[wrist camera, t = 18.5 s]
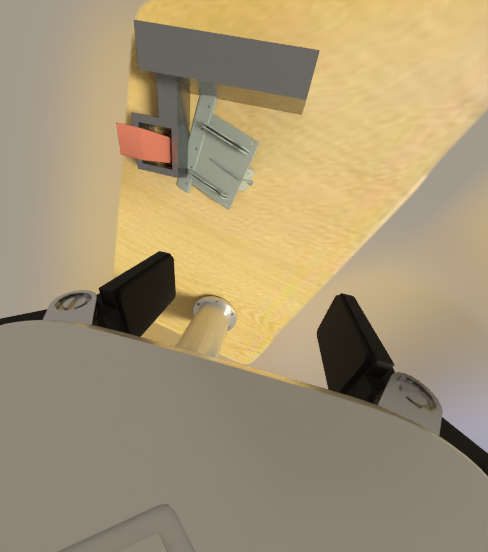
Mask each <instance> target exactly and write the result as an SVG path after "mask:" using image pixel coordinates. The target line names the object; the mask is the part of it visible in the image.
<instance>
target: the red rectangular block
mask: <svg viewBox="0 0 488 552" xmlns="http://www.w3.org/2000/svg"><path fill="white" fill-rule="evenodd" d="M116 124H117V131H118V138H119V145H120V151H121V155H124V156H129V157H133V158H137V159H141V160H146V161H156V162H165V163H172V138H170V137H166V136H163V135H160V134H157V133H154V132H151V131H148V130H145V129H142V128H138V127H134V126H130V125H125V124H121V123H116Z"/></svg>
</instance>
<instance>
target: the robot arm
mask: <svg viewBox="0 0 488 552" xmlns="http://www.w3.org/2000/svg"><path fill="white" fill-rule="evenodd" d="M99 291H100V293H99V294H98V295H96V294H95V293H94V292H91V291H84V290H83V291H74V292H70V293H67V294H64V295H62V296H60V297H58V298H56V299H55V300H53V301H52V302H51V304H50V305H49V307H48V309H47V310H42V311H37V312H32V313H27V314H22V315H17V316H12V317H6V318H2V319H0V552H488V453H486V452H485V451H484V450H483V449H481V448H480V447H479V446H478V445H476V444H475V443H474V442H473V441H471V440H470V439H469V438H468V437H466V436H465V435H464V434H463V433H461V432H460V431H459V430H458V429H456V428H455V427H454V426H453V425H451V424H450V423H449V422H448V421H446V420H445V419H444V418H443V417H442V407H441V405H440V403H439V401H438V399H437V398H436V397H435V395H434V394H433V393H432V392H431V391H430V390H429V389H428V388H427V387H426V386H425V385H424V384H422V383H421V382H420V381H418V380H417V379H415V378H414V377H412V376H410V375H407V374H405V373H400V372H397V373H395V371H394V369H393V368H392V367H393V366H394V363H393V361H392V360H391V358H390V356H389V355H388V353H387V351H386V350H385V348H384V346H383V344H382V343H381V341H380V340H379V338H378V336H377V334H376V333H375V331H374V330H373V328H372V326H371V324H370V323H369V321H368V320H367V318H366V316H365V314H364V313H363V311H362V309H361V308H360V306H359V304H358V303H357V301H356V299H355V297H353V296H351V295H347V294H340V295H337V296H336V297H335V298H334V300H333V302H332V304H331V306H330V307H329V309H328V311H327V313H326V315H325V317H324V319H323V321H322V322H321V324H320V326H319V328H318V330H317V338H318V343H319V347H320V352H321V357H322V362H323V366H324V371H325V375H326V380H327V385H328V389H329V390H328V389H324V388H321V387H317V386H314V385H311V384H307V383H304V382H300V381H297V380H293V379H290V378H286V377H283V376H279V375H276V374H272V373H269V372H265V371H261V370H258V369H255V368H251V367H247V366H244V365H240V364H237V363H233V362H229V361H225V360H222V359H219V358H217V357H218V354H219V351H220V349H221V346H222V343H223V340H224V337H225V335H226V332H227V331H229V330H231V329H232V328H233V327H234V326H235V323H236V320H237V314H236V311H235V309H234V308H233V307H232V305H231V304H230V303H229V302H227V301H226V300H224V299H222V298H219V297H215V296H205V297H202V298H200V299H199V300H198V301H197V302H196V303H195V305H194V307H193V314H194V317H193V319H192V320H191V322H190V323H189V325H188V327H187V328H186V330H185V331H184V333H183V334H182V336H181V338H180V339H179V341H178V342H177V344H176V345H175V346H171V345H168V344H164V343H160V342H157V341H153V340H149V339H145V338H142V337H141V336H142V334H143V333H144V332H145V331H146V330H147V329H148V328H149V327H150V325H151V324H152V323H153V322H154V321H155V320H156V319H157V318H158V316H159V315H160V314H161V313H162V312H163V311H164V310H165V309H166V307H167V306H168V305H169V304H170V303H171V302H172V301H173V299H174V298H175V295H176V290H175V273H174V258H173V257H172V256H171V254H170V253H166V252H161V251H159V252H157V253H156V254H154V255H152V256H151V257H149V258H147V259H146V260H144V261H142V262H141V263H139V264H138V265H136V266H134V267H133V268H131V269H129V270H128V271H126V272H124V273H123V274H121V275H119V276H118V277H116V278H115V279H113V280H111V281H110V282H108V283H106V284H105V285H103V286H101V287H100V288H99Z"/></svg>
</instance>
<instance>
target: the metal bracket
mask: <svg viewBox="0 0 488 552" xmlns="http://www.w3.org/2000/svg"><path fill="white" fill-rule="evenodd" d="M216 103H217V98H216V97H215V96H209V95H200V96H199V100H198V104H197V108H196V112H195V119H194V122H193V126H192V130H191V134H190V137H189V145H188V167H187V178H178V182H177V186H178V187H179V188H181V189H182V190H183V191H185V192H187V193H189V191H190V188H191V185H192V184H193V185H194V186H195V187H197V188H198V189H200V190H201V191H202V192H204V193H205V194H207V195H208V196H209V197H211V198H212V199H214V200H215V201H216V202H218V203H219V204H221V205H222V206H223V207H225V208H226V209H228V210H229V209H230V207H231V205H232V203H233V201H234V199H235V196H236V194H237V192H238V190H242V191H246V189H247V186H248V185H251V186H253V185H254V183H255V182H253V181H252V180H251V179H252V175H253V174H254V172H255V171H253V170H251V169H249V165H250V163H251V161H252V159H253V157H254V154H255V152H256V150H257V148H258V146H259V142H258V141H256V140H254V139H253V138H251V137H250V136H248V135H246V134H245V133H243V132H242V131H240V130H238V129H237V128H235V127H233V126H232V125H230V124H229V123H227V122H225V121H224V120H222V119H220V118H219V117H217V116H216V115H214V109H215V106H216ZM208 106H210V107H209V108H208ZM202 128H203V130H202ZM252 142H254V145H253V146H252ZM196 148H197V150H196ZM191 166H192V168H191ZM186 182H187V184H186ZM226 203H227V206H226V205H225V204H226Z"/></svg>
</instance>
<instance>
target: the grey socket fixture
mask: <svg viewBox="0 0 488 552" xmlns="http://www.w3.org/2000/svg"><path fill="white" fill-rule="evenodd" d="M134 29H135V40H136V51H137V62H138V69H139V70H140V71H142V72H143V73H144V74H146V75H147V76H149V77H150V78H151V79H153V80H154V81H155V82H157V94H158V113H159V118H157V117H153V116H148V115H143V114H138V113H133V112H131V113H132V122H133V126H134V127H138V128H142V129H145V130H148V131H151V132H154V133H155V131H154V128H158V129H163V130H168V131H171V134H172V168H171V167H166V166H162V165H158V164H157V162H156V161H146V160H141V159H137V165H138V169H142V170H146V171H151V172H155V173H159V174H164V175H168V176H172V177H177V178H187V167H188V145H189V125H190V93H192V94H197V95H209V96H215V97H216V98H218V99H223V100H228V101H233V102H239V103H244V104H249V105H254V106H260V107H265V108H270V109H275V110H280V111H286V112H291V113H296V114H301V115H302V112H303V109H304V106H305V102H306V99H307V95H308V92H309V88H310V84H311V80H312V77H313V73H314V69H315V66H316V62H317V58H318V54H319V51H320V50H314V49H308V48H302V47H296V46H290V45H284V44H278V43H271V42H265V41H259V40H253V39H247V38H241V37H235V36H229V35H223V34H217V33H211V32H205V31H199V30H193V29H187V28H180V27H174V26H168V25H162V24H156V23H150V22H144V21H138V20H134Z"/></svg>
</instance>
